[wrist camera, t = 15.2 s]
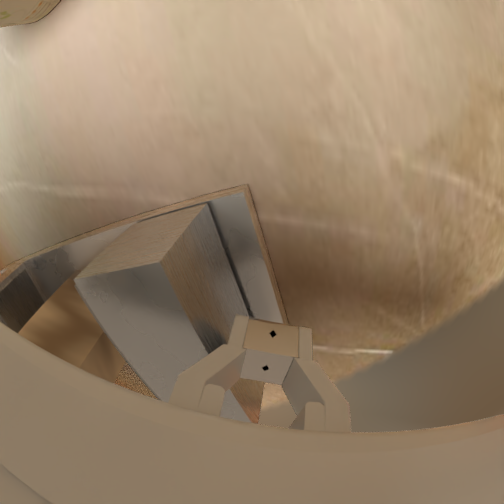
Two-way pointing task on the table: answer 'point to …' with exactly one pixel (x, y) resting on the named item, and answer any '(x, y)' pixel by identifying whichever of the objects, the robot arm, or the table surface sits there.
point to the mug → (24, 11)
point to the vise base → (94, 242)
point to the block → (73, 334)
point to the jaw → (169, 302)
